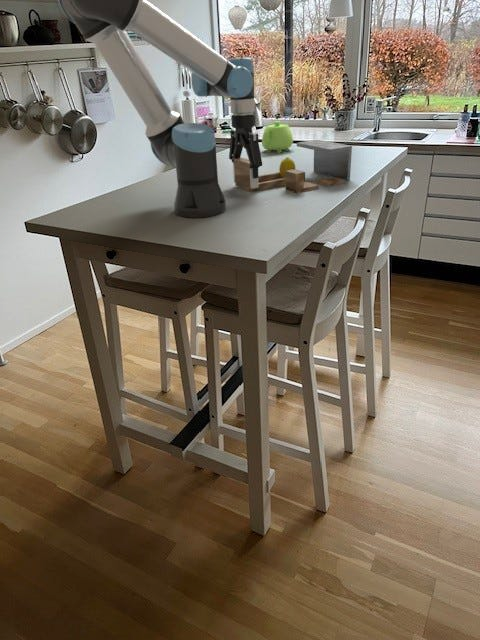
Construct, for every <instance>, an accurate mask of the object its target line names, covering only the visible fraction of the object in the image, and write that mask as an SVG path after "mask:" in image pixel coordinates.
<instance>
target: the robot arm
mask: <svg viewBox="0 0 480 640" xmlns="http://www.w3.org/2000/svg"><path fill="white" fill-rule="evenodd" d="M57 2H58V5H59V8H60V10H61V11H62V13H63V14H64V16H65V17H66V18H67V19H68V20H69V21H70V22H71V23H73V24H74V25H75V26H76V28H77V29H78V30H79V32H80V34H81V35H82V37H83V39H84V40H85V41H86V42H89V43H93V44H94V45H95V47H96V48H97V50H98V51H99V53H100V54H101V57H103V59H104V61H105V62H106V64H107V65H108V67H109V69H110V71H111V73H113V75H114V77H115V78H116V79H117V81H118V83H119V85H120V86H121V88H122V90H123V91H124V93H125V95H126V97H128V99H129V100H130V103H131V104H132V106H133V107H134V109H135V110H136V111H137V114H138V115H139V117H140V119H141V120H142V121H143V124H144V125H145V127H146V128H145V136H146V138H147V139H148V141H149V142H150V148H151V151H152V153H153V155H154V156H155V158H156V159H157V160H158V161H159V162H160V163H162V164H164V165H166V166H168V167H169V166H170V167H172V168H174V169H175V173H176V179H177V189H176V193H175V199H174V202H173V205H174V206H173V208H174V214H175V215H177V216H179V217H182V218H193V219H195V218H207V217H213V216H216V215H219V214H222V213H224V212H225V211H226V209H227V207H226V205H227V204H226V199H225V196H224V194H223V192H222V190H221V186H220V183H219V178H218V176H219V175H218V161H217V160H218V159H217V147H216V145H217V140H216V136H215V131H214V129H213V128H212V127H211V126H210V125H207V124H204V123H196V122H185V121H184V119H183V118H182V116H181V114H180V113H179V112H178V111H175V110H172V109H171V107H170V105H169V104H168V102H167V100H166V99H165V97H164V95H163V93H162V91H161V90H160V88H159V86H158V85H157V82H156V81H155V79H154V78H153V76H152V74H151V73H150V70H149V69H148V66H147V65H146V64H145V62H144V60H143V59H142V57H141V55H140V54H139V51H138V50H137V48H136V46H135V45H134V43H133V41H132V40H131V38H130V36H129V34H128V32H127V31H130V32H132V33H133V34H134V35H136V36H138V37H139V38H140V39H142V40H144V41H145V42H147V43H148V44H150V45H151V46H152V47H153V48H155V49H157V50H158V51H160V52H162V53H163V54H164V55H166V56H167V57H169V58H170V59H172V60H173V61H175V62H176V63H178V64H179V65H181V66H183V67H184V68H186V69H187V70H189V71H190V72H191V73H192V74H191V88H192V90H193V93H194V94H195V96H197V97H205V98H207V97H212V96H213V97H223V98H224V97H225V98H230V99H229V100H230V101H229V103H230V113H231V117H230V121H231V128H233V129H230V141H229V153H228V154H229V155H228V159H229V160H231V162H232V165H233V166H232V169H233V170H232V171H233V172H232V173H233V183H235V171H234V159H236V158H242V157H241V156H242V153H243V148H244V149H245V152H246V155H247V159H248V160H249V162H250V165H251V166H250V167H249V168H250V188H251V189H253V188H259V184H258V183H259V182H258V176H259V168H260V167H263V160H262V155H261V149H260V142H259V134H258V133H257V132H255V133H253V129H252V128H254V127H255V126H256V115H255V113H254V112H255V110H256V109H255V105H256V104H255V103H256V101H255V71H254V70H255V69H254V61H253V59H252V58H251V57H235V58H233V57H232V58H229V59H227V58H226V57H224V56H222V55H221V54H220V53H219V52H217V51H216V50H214V49H213V48H211V46H209V45H208V44H206V42H203V40H201V39H199V37H197V36H196V35H194V34H193V33H191V32H190V31H189V30H188V29H186V28H185V27H183V26H182V25H181V24H179V23H178V22H176V20H174V19H172V18H171V17H170V16H169V15H167V14H165V12H163V11H161V9H159V8H158V7H156V6H155V5H154V4H152V3H151V2H149V1H148V0H57ZM253 163H254V164H253Z"/></svg>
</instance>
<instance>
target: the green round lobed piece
mask: <svg viewBox="0 0 480 640" xmlns="http://www.w3.org/2000/svg"><path fill="white" fill-rule="evenodd" d="M263 131H264V132H263V135H262V136H261V137H262V139H261V146H262V147H263V148H264V149H265V153H271V152H272V150H274V151H276V153H277V154H281V153H280V152H282V153H283V151H285V150H288V149H290V148H291V147H292V145H293V144H294V138H293V134H292V131H291V129H290V124H281V121H279V120H278V121H274V122H273V124H270V125H267V126H266V127H265V128H264V130H263ZM288 151H289V150H288Z"/></svg>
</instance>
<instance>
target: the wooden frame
mask: <svg viewBox="0 0 480 640" xmlns="http://www.w3.org/2000/svg"><path fill="white" fill-rule="evenodd" d="M253 164H254V163H253ZM250 166H251V165H250V162H249V158H245V157H240V158H236V159H234V171H235V182H234V184H235V185H234V186H235V187H237V188H240V189H242V190H245V191H248V192H250V193H251V192H256V191H262V190H266V189H271V188H276V187H282V186H285V178H282V176H281V175H280V171H277V172H271V173H267V174H260V175H258V184H259V188H253V189H251V188H250V168H249V167H250ZM296 170H297V171H301V172H304V182H306V172H305V171H302V170H300V169H299V170H298V169H296Z"/></svg>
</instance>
